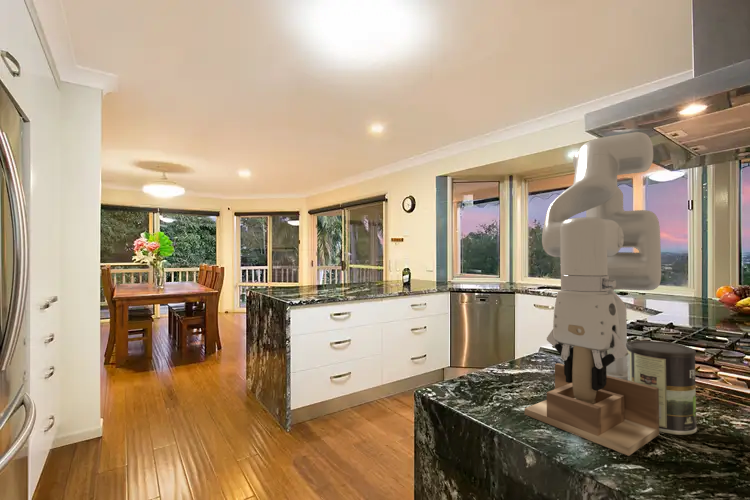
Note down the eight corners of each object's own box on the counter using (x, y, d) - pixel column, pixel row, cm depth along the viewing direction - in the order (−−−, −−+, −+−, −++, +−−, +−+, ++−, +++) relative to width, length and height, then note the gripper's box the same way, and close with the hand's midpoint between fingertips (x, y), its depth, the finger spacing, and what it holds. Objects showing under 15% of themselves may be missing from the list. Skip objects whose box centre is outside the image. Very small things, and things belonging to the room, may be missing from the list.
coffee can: (690, 417, 70) (689, 343, 71) (703, 441, 62) (701, 356, 62) (625, 406, 76) (624, 337, 76) (628, 426, 67) (627, 348, 67)
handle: (600, 416, 63) (599, 328, 64) (561, 405, 68) (560, 323, 68) (608, 408, 67) (607, 325, 67) (571, 398, 71) (570, 320, 72)
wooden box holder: (558, 400, 79) (557, 363, 79) (659, 434, 64) (658, 388, 64) (524, 414, 72) (524, 373, 72) (628, 455, 57) (628, 404, 57)
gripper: (645, 287, 63) (646, 394, 63) (551, 281, 77) (552, 369, 77) (625, 289, 59) (627, 405, 59) (530, 283, 73) (531, 376, 72)
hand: (584, 383), depth 68 cm, fingers closed on handle, 4 cm apart
